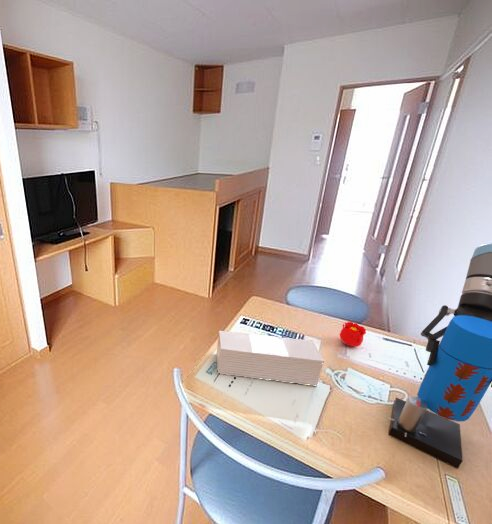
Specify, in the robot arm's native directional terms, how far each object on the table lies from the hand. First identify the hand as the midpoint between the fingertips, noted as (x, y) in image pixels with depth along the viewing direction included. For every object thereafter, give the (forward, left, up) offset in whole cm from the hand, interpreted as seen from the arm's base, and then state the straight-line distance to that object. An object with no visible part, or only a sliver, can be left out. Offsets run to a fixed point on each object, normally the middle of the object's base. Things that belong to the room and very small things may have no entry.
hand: (461, 375), depth 75 cm
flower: (+24, -33, -22) cm, 47 cm away
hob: (+1, 0, -22) cm, 22 cm away
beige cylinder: (+5, +4, -19) cm, 20 cm away
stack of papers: (+44, +5, -22) cm, 50 cm away
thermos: (0, -3, -12) cm, 13 cm away
